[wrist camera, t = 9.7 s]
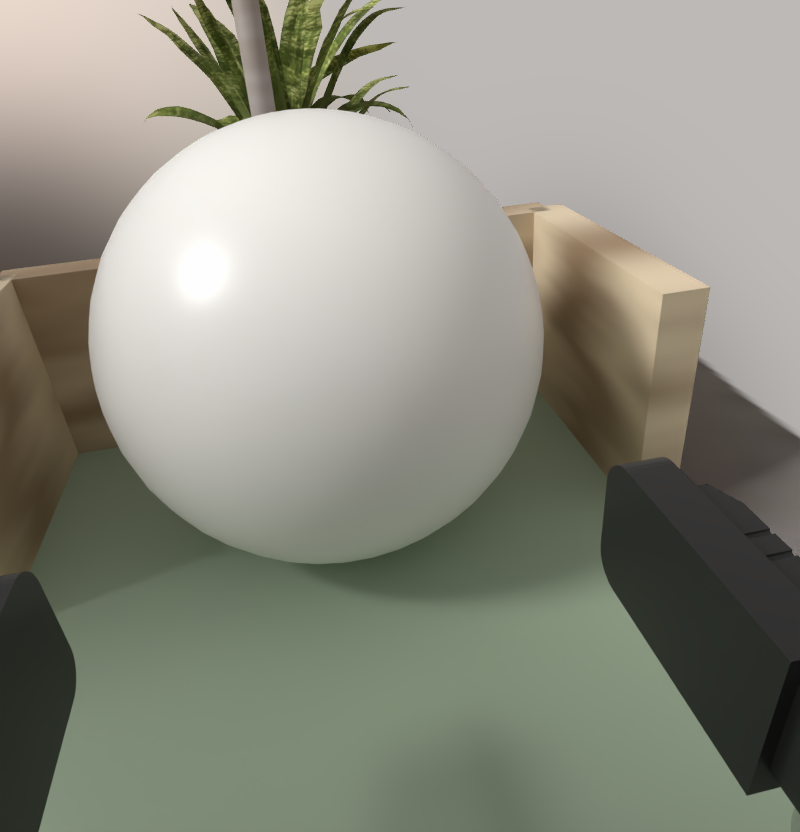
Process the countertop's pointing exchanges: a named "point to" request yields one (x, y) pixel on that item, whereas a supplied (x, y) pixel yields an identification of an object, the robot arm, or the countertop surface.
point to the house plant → (279, 60)
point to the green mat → (372, 674)
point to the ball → (316, 336)
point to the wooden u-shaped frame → (559, 385)
